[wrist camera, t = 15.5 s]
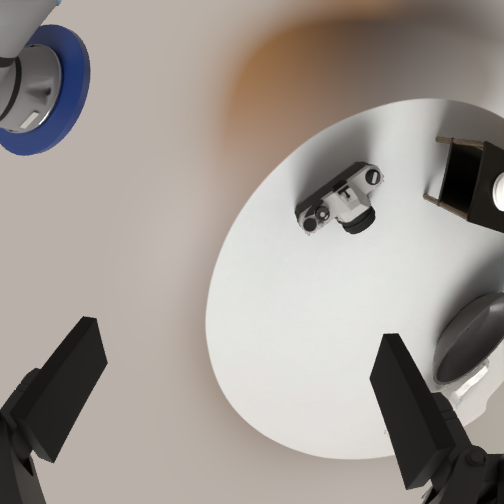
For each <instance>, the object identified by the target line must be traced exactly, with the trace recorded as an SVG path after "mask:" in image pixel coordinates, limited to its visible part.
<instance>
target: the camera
mask: <svg viewBox="0 0 504 504" xmlns="http://www.w3.org/2000/svg"><path fill="white" fill-rule="evenodd" d="M383 178H384V176H383V174H382V172H381V171H380V169H379V168H378V166H375V165H372V164H368V163H365V162H355V163H353V164H352V165H351V166H349V167H348V168H347V169H345V170H344V171H343V172H341V173H340V174H338V175H337V176H336V177H334V178H333V179H332V180H330V181H329V182H328V183H326V184H325V185H324V186H322V187H321V188H319V189H318V190H317V191H315V192H314V193H313V194H311V195H310V196H309V197H307V198H306V199H305V200H303V201H302V202H301V203H299V204H298V205H297V206H296V209H295V215H296V218H297V222H298V223H299V226H300V227H301V228H302V229H303V230H304V232H305V233H306V234H308V236H310V233H314V232H316V231H317V230H319V229H320V228H322V227H323V226H324V225H325V224H327V223H328V222H330V221H331V220H332V219H334V218H335V219H337V221H338V223H340V224H342V226H343V228H344V229H345V231H346V232H349V233H350V234H357V233H360V232H362V231H364V230H365V229H367V228H368V227H369V226H370V225H371V224H372V223H373V222H374V220H375V210H374V209H373V207H372V206H370V205H371V204H370V200H369V198H368V196H367V194H368V193H369V192H370V191H372V190H373V189H375V188H376V187H377V186H379V185H380V184H381V182H384V180H383Z"/></svg>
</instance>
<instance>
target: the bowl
mask: <svg viewBox="0 0 504 504" xmlns="http://www.w3.org/2000/svg"><path fill="white" fill-rule="evenodd" d="M503 339H504V293H503V292H500V293H491V294H487V295H484V296H482V297H479V298H477V299H475V300H474V301H472V302H471V303H470V304H468V305H467V306H466V307H465V308H464V309H463V310H461V311H460V312H459V313H458V315H457V316H456V317H455V318H454V319H453V320H452V321H451V322H450V324H449V325H448V326H447V328H446V329H445V330H444V332H443V334H442V335H441V337H440V339H439V342H438V344H437V347H436V350H435V354H434V359H433V378H434V381H435V382H436V383H437V384H439V385H445V384H450V383H452V382H455V381H457V380H459V379H461V378H462V377H464V376H466V375H467V374H469V373H470V372H471V371H473V370H474V369H475V368H476V367H478V366H479V365H480V364H481V363H482V362H483V361H484V360H485V359H486V358H487V357H488V356H489V355H490V354H491V353H492V352H493V351H494V350H495V349H496V348H497V346H498V345H499V344H500V343H501V341H502V340H503Z"/></svg>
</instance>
